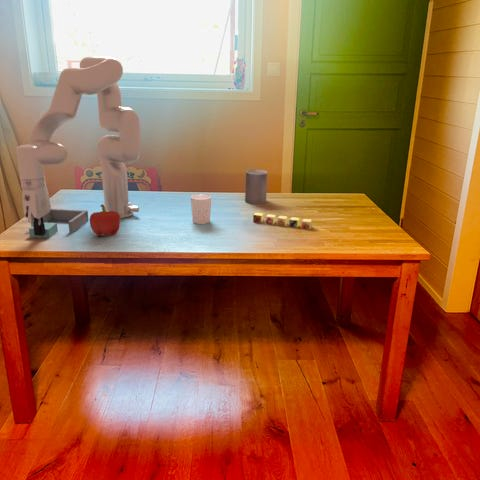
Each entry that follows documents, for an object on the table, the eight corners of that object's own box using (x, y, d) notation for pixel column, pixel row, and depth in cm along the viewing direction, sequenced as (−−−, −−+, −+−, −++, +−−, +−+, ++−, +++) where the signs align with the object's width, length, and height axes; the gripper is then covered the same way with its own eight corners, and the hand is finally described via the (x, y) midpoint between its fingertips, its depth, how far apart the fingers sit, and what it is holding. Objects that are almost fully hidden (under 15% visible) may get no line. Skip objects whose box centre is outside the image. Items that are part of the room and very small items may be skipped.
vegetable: (89, 231, 173) (86, 204, 170) (117, 227, 177) (115, 201, 174) (93, 240, 164) (90, 213, 160) (123, 237, 168) (121, 210, 164)
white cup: (215, 221, 187) (215, 197, 183) (200, 226, 181) (200, 200, 178) (201, 217, 192) (201, 193, 188) (187, 221, 186) (186, 196, 183)
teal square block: (57, 232, 172) (56, 223, 171) (49, 238, 166) (48, 229, 165) (39, 231, 173) (37, 222, 171) (30, 238, 166) (28, 228, 165)
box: (88, 220, 184) (87, 210, 183) (72, 232, 171) (71, 221, 170) (50, 218, 186) (49, 208, 184) (31, 230, 173) (30, 219, 171)
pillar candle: (243, 198, 219) (244, 166, 214) (264, 198, 220) (265, 166, 215) (246, 204, 210) (247, 171, 205) (268, 204, 211) (269, 171, 206)
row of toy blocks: (256, 211, 203) (256, 203, 202) (331, 220, 193) (331, 212, 191) (229, 234, 174) (229, 225, 173) (315, 246, 164) (315, 237, 163)
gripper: (32, 188, 150) (39, 243, 156) (54, 178, 164) (60, 228, 170) (10, 187, 151) (18, 241, 157) (33, 177, 165) (40, 227, 171)
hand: (40, 234), depth 164 cm, fingers closed
